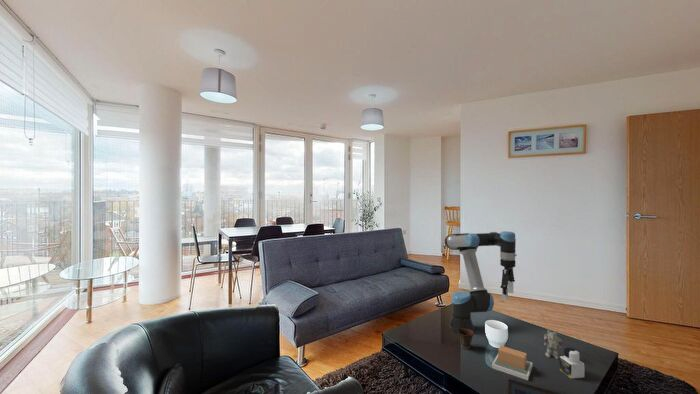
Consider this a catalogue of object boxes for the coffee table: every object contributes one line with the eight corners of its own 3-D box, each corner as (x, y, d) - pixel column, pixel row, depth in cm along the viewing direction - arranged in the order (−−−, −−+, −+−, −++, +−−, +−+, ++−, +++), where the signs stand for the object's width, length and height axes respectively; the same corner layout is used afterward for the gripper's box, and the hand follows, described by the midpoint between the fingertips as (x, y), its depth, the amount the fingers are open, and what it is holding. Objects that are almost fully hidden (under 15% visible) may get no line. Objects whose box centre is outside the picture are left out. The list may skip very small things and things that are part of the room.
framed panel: (492, 368, 150) (491, 363, 149) (498, 355, 160) (498, 351, 160) (528, 380, 139) (528, 375, 139) (532, 366, 150) (532, 362, 150)
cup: (475, 343, 173) (474, 327, 172) (474, 352, 165) (473, 336, 163) (459, 340, 177) (458, 325, 175) (458, 350, 168) (457, 334, 167)
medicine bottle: (559, 369, 147) (559, 346, 147) (572, 368, 148) (572, 345, 147) (571, 378, 140) (571, 354, 140) (584, 377, 140) (584, 353, 140)
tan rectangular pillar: (498, 361, 152) (498, 349, 152) (500, 356, 156) (500, 345, 156) (524, 370, 144) (524, 358, 144) (526, 364, 148) (526, 353, 148)
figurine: (564, 358, 156) (564, 331, 156) (556, 362, 153) (555, 334, 153) (548, 351, 164) (548, 325, 163) (540, 355, 160) (540, 328, 160)
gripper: (510, 264, 152) (510, 304, 153) (519, 255, 171) (519, 291, 172) (494, 262, 157) (494, 301, 158) (505, 254, 176) (505, 288, 177)
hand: (507, 296), depth 165 cm, fingers open, 13 cm apart
